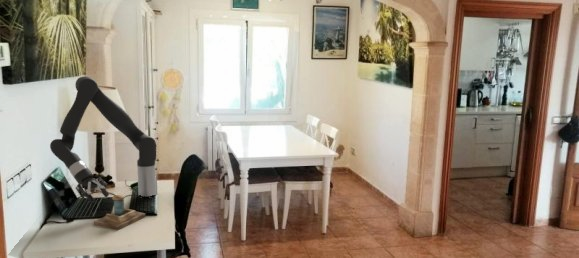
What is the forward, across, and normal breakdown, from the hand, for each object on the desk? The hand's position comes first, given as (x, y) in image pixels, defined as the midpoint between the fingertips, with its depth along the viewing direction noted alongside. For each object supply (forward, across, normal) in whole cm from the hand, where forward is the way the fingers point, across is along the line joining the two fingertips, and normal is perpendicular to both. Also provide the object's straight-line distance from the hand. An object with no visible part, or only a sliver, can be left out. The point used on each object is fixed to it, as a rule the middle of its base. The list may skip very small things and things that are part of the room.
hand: (100, 198), depth 213 cm
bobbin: (+13, 0, -3) cm, 14 cm away
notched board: (+14, 0, -2) cm, 15 cm away
